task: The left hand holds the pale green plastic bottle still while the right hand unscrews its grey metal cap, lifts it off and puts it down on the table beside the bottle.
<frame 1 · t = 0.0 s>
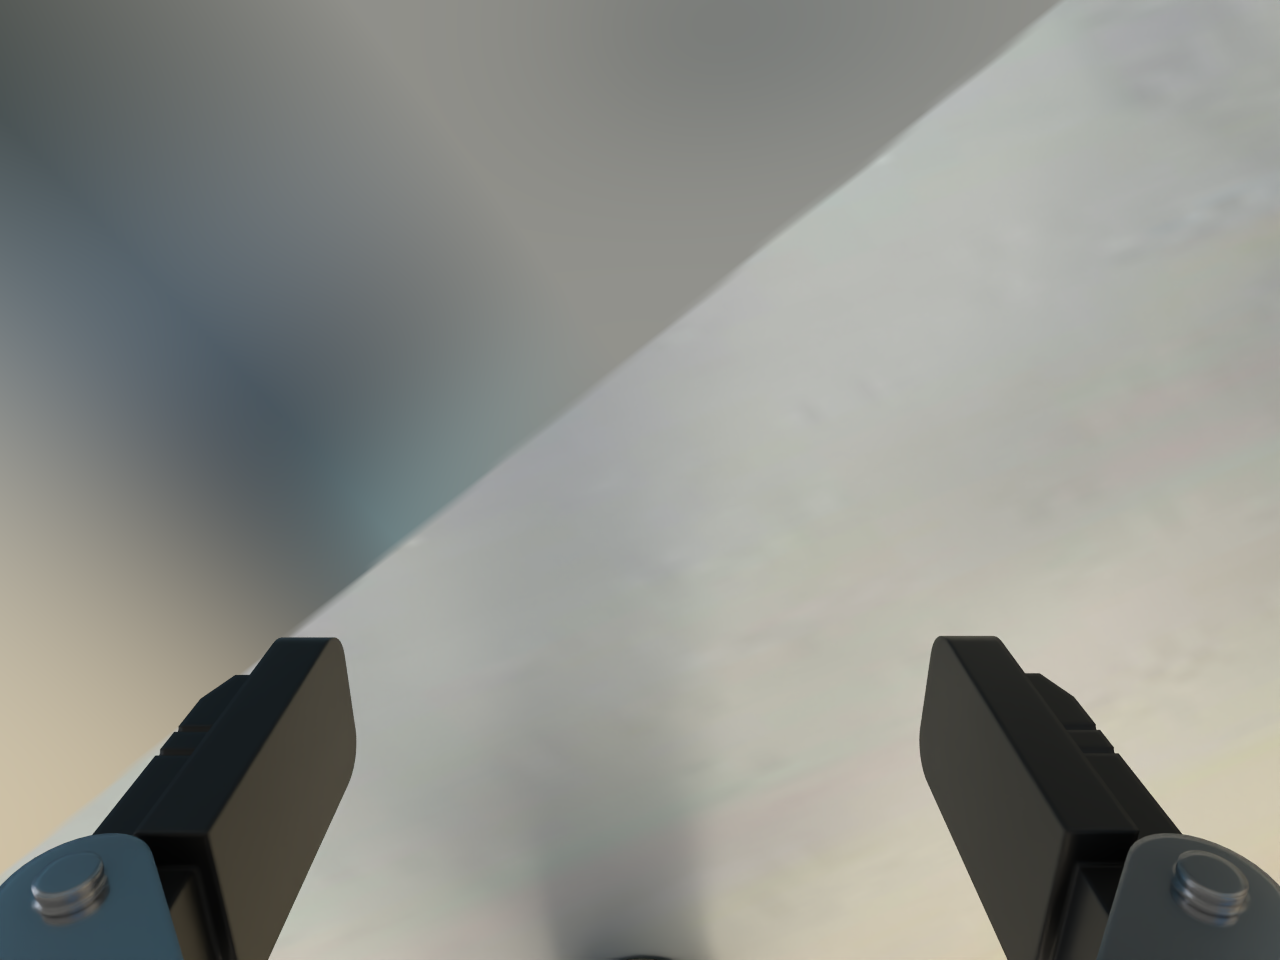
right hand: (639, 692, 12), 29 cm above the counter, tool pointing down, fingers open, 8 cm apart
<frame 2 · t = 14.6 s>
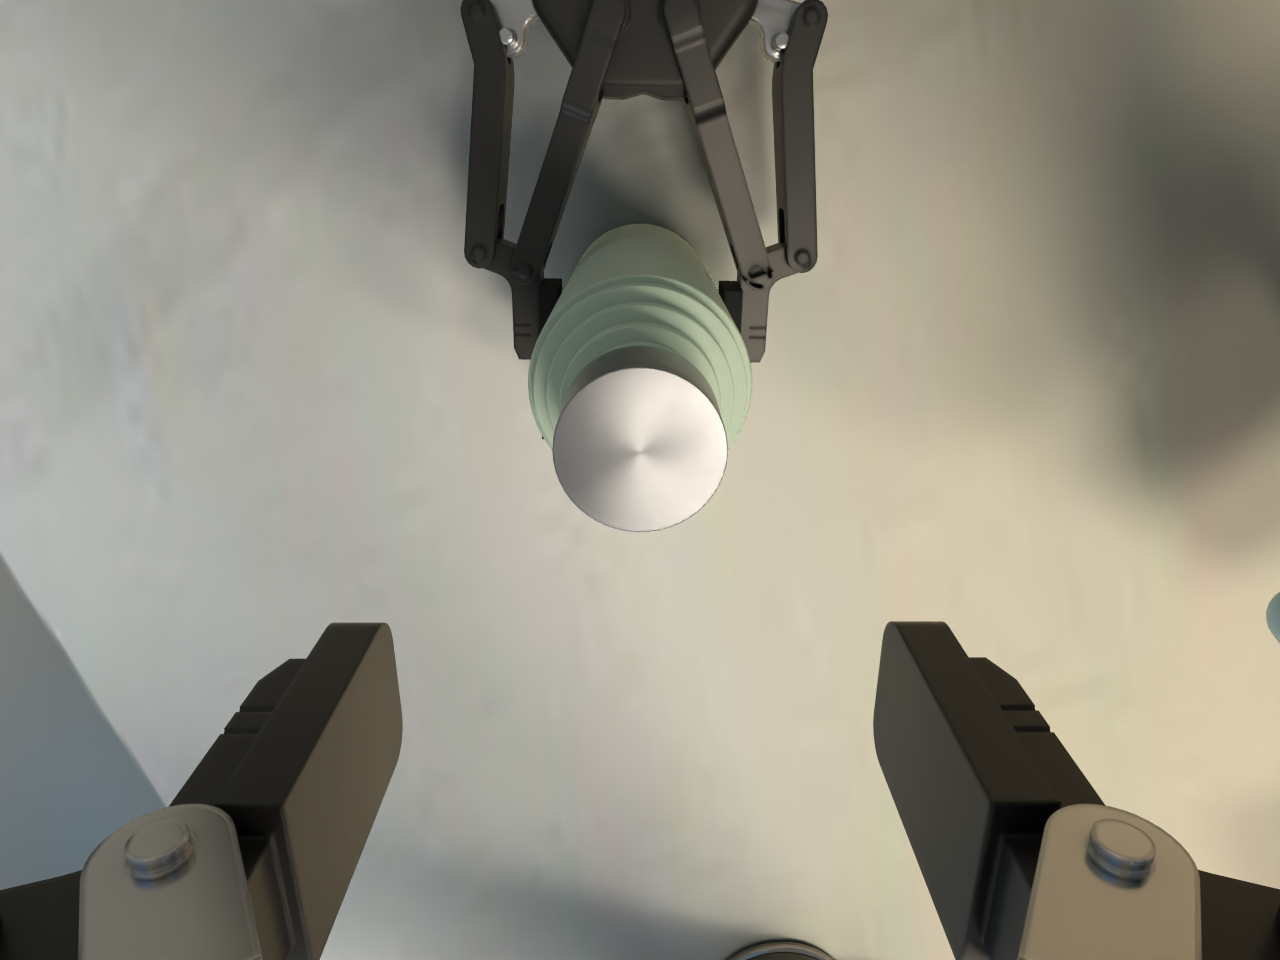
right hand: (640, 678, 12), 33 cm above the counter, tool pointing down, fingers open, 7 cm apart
left hand: (638, 430, 39), fingers closed on bottle, 7 cm apart
cap: (640, 448, 21), point 23 cm above the counter, screwed on, not yet turned
bottle: (640, 294, 43), on the counter, touching left hand
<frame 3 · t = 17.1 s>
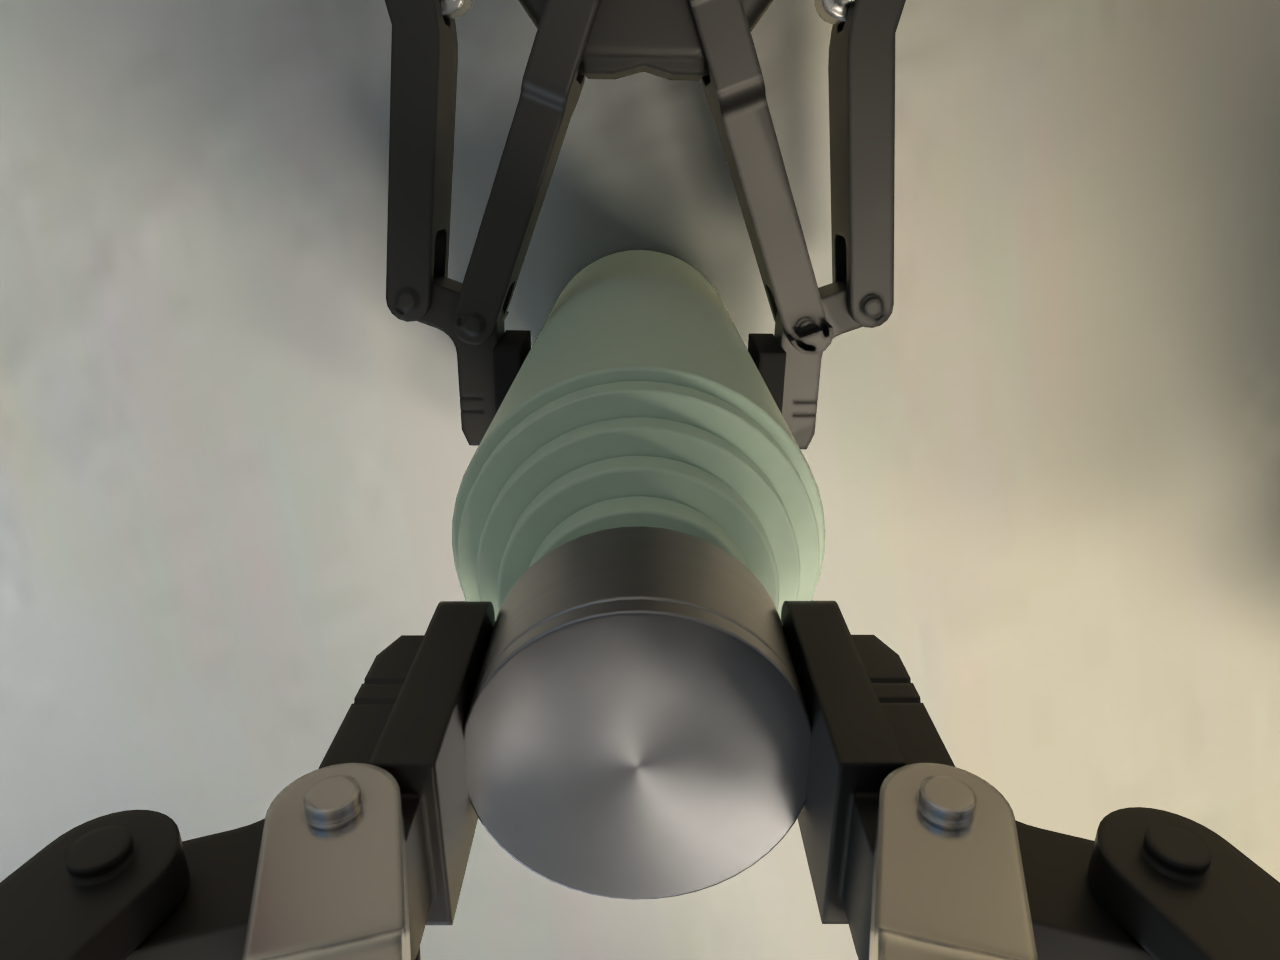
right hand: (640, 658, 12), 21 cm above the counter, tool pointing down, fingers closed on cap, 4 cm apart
cap: (638, 750, 11), point 23 cm above the counter, screwed on, not yet turned, touching right hand
bottle: (639, 343, 32), on the counter, touching left hand
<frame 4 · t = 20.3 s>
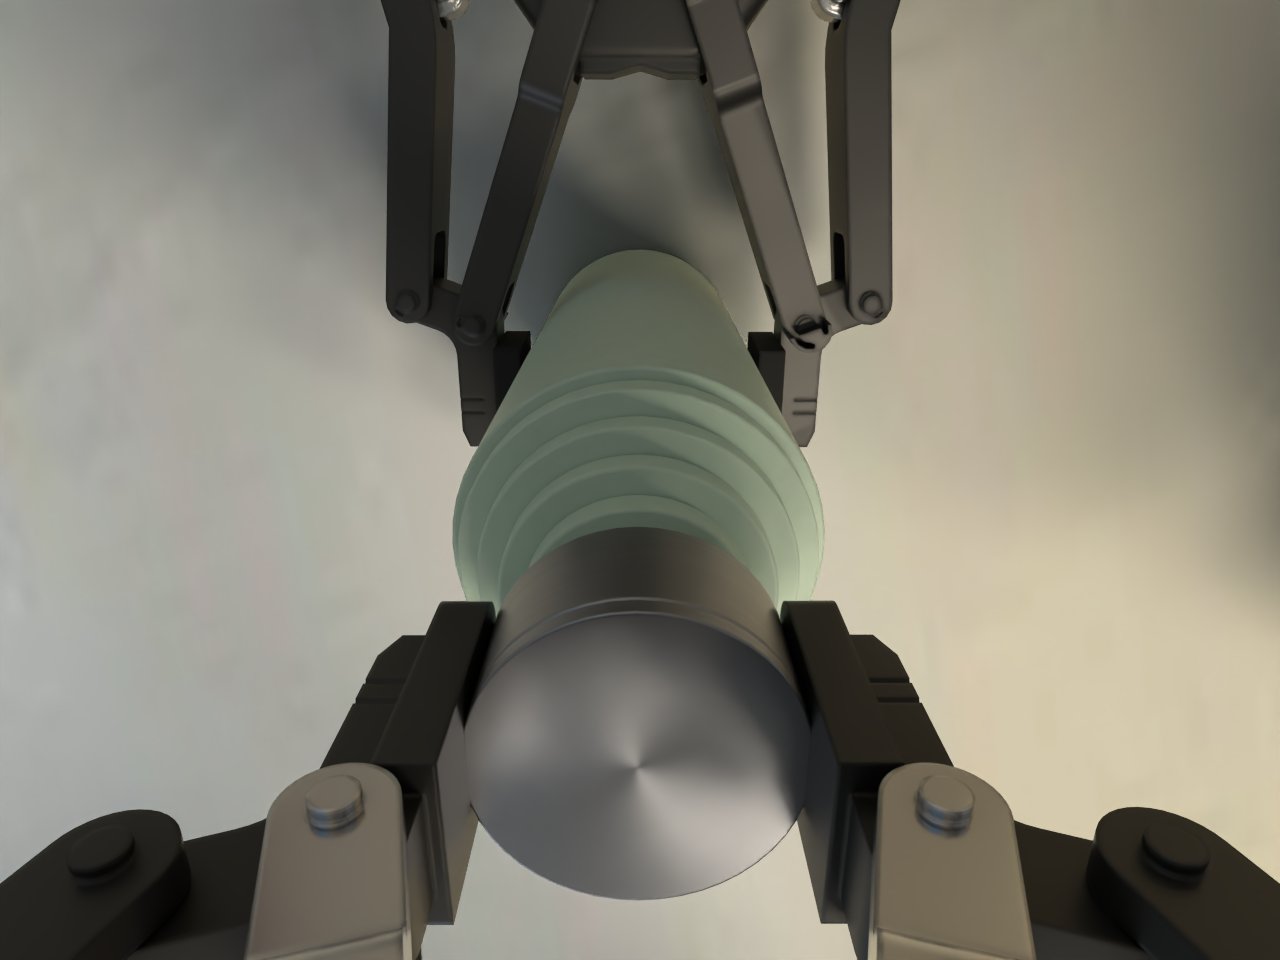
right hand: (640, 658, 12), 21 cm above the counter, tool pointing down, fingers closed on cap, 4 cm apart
cap: (637, 751, 11), point 23 cm above the counter, turned 69° so far, risen 0.1 cm, still on its thread, touching right hand
bottle: (639, 342, 32), on the counter, touching left hand
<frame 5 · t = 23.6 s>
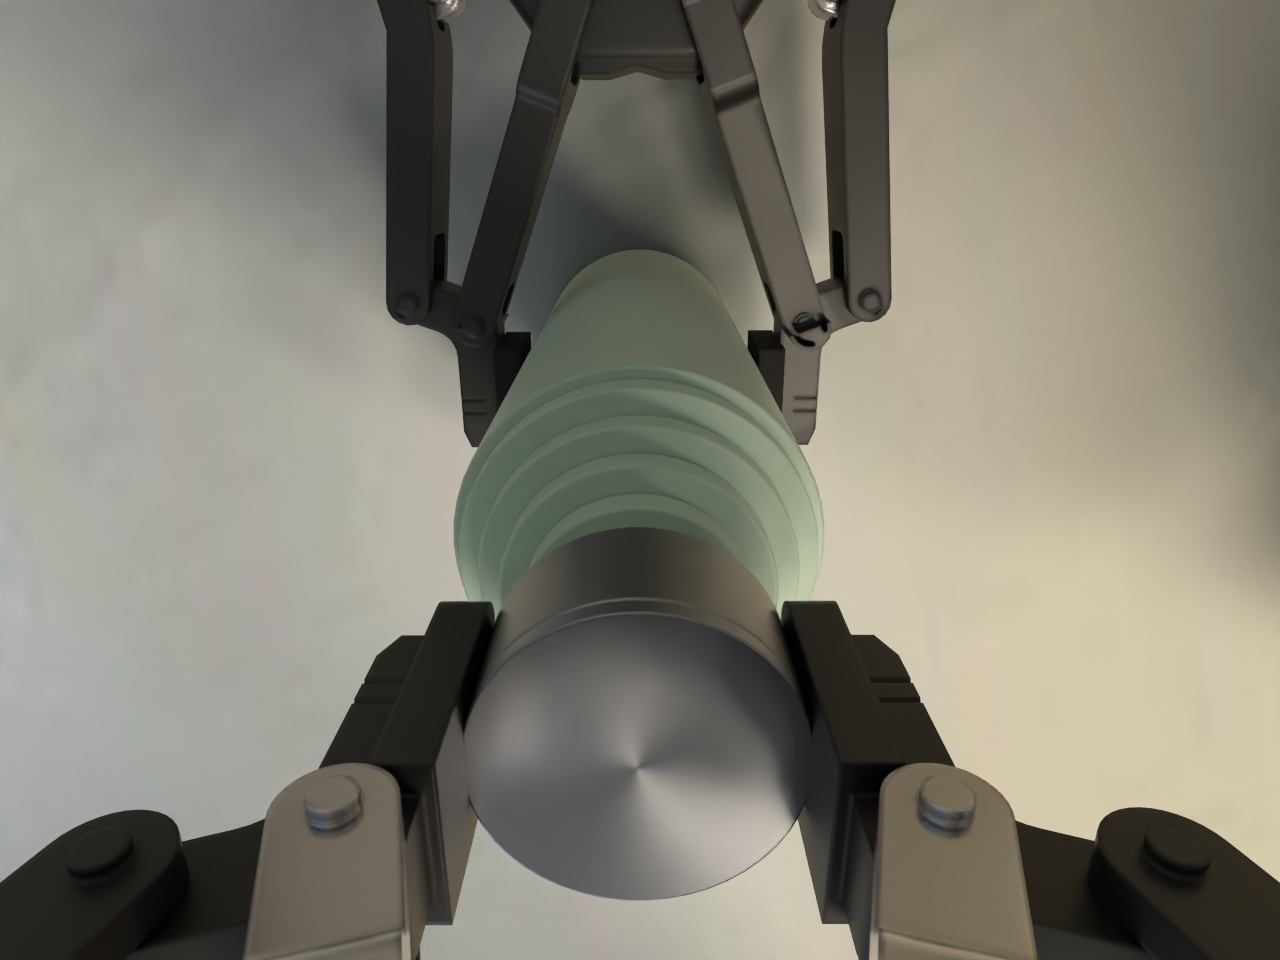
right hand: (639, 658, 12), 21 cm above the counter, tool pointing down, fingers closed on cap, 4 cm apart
cap: (637, 751, 11), point 24 cm above the counter, turned 138° so far, risen 0.1 cm, still on its thread, touching right hand
bottle: (639, 342, 32), on the counter, touching left hand
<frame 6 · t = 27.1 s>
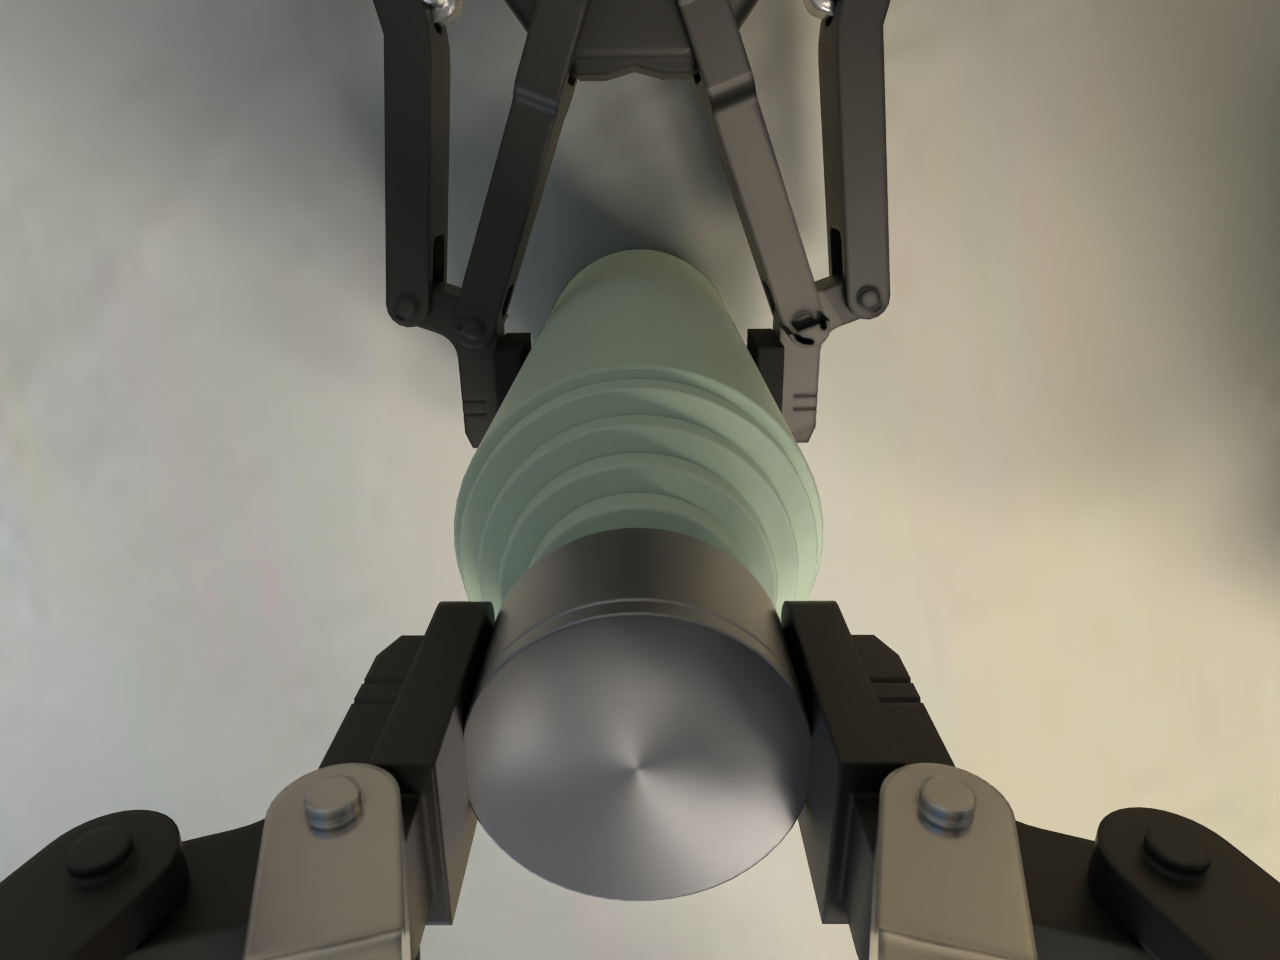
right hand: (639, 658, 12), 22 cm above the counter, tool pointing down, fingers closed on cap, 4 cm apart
cap: (637, 752, 11), point 24 cm above the counter, turned 207° so far, risen 0.2 cm, still on its thread, touching right hand
bottle: (639, 342, 33), on the counter, touching left hand
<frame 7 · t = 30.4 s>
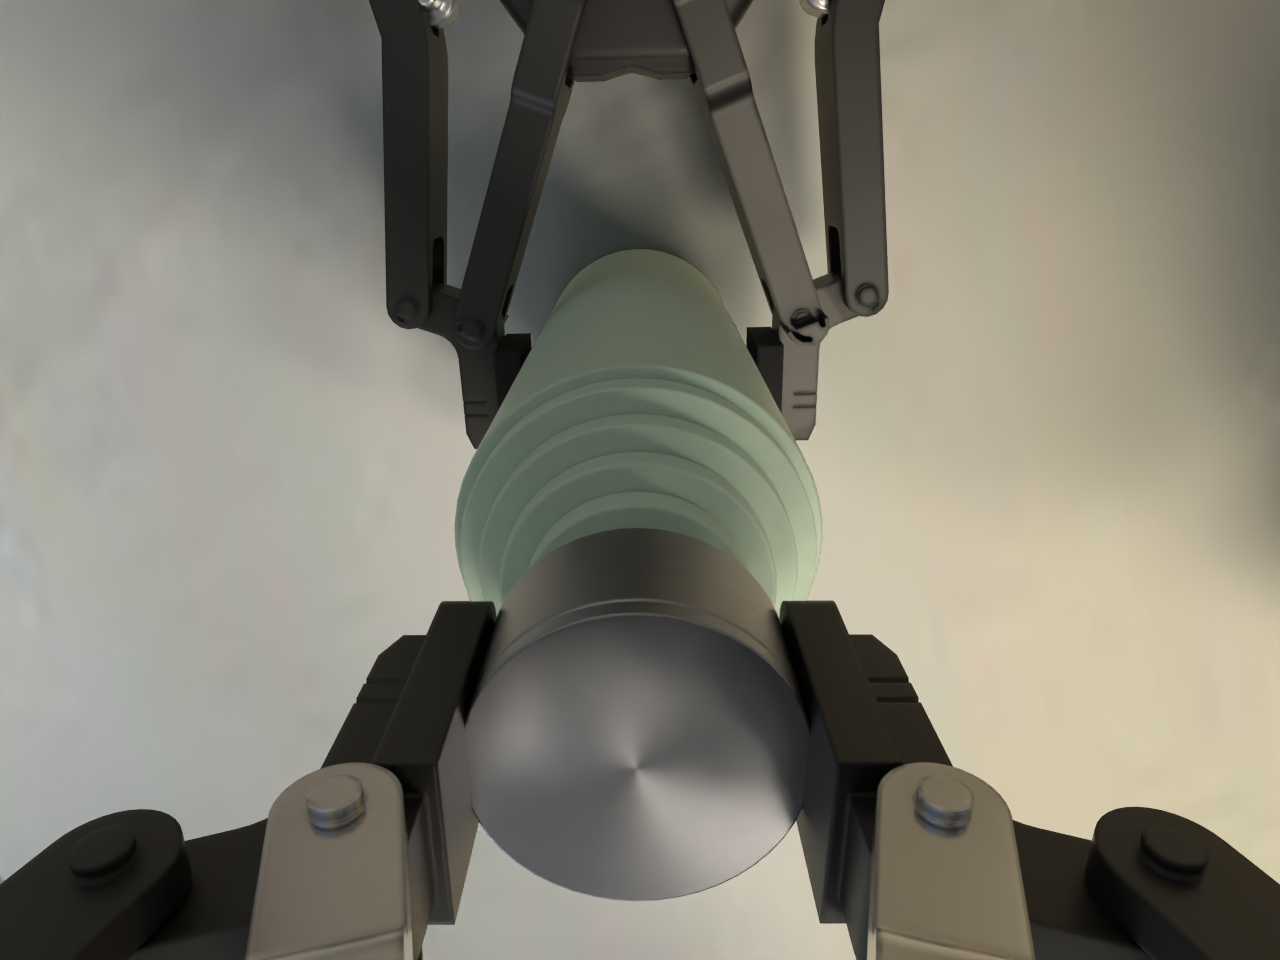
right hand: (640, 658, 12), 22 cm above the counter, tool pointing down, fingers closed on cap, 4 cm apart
cap: (636, 752, 11), point 24 cm above the counter, turned 276° so far, risen 0.2 cm, still on its thread, touching right hand
bottle: (640, 341, 33), on the counter, touching left hand
when the right hand's fingers open (1 cm above the counter, at t = 39.9 s): cap stays where it is, point 2 cm above the counter.
when the left hand's fingers open (7 cm above the counter, at t = 41.0 s): bottle stays where it is, on the counter.
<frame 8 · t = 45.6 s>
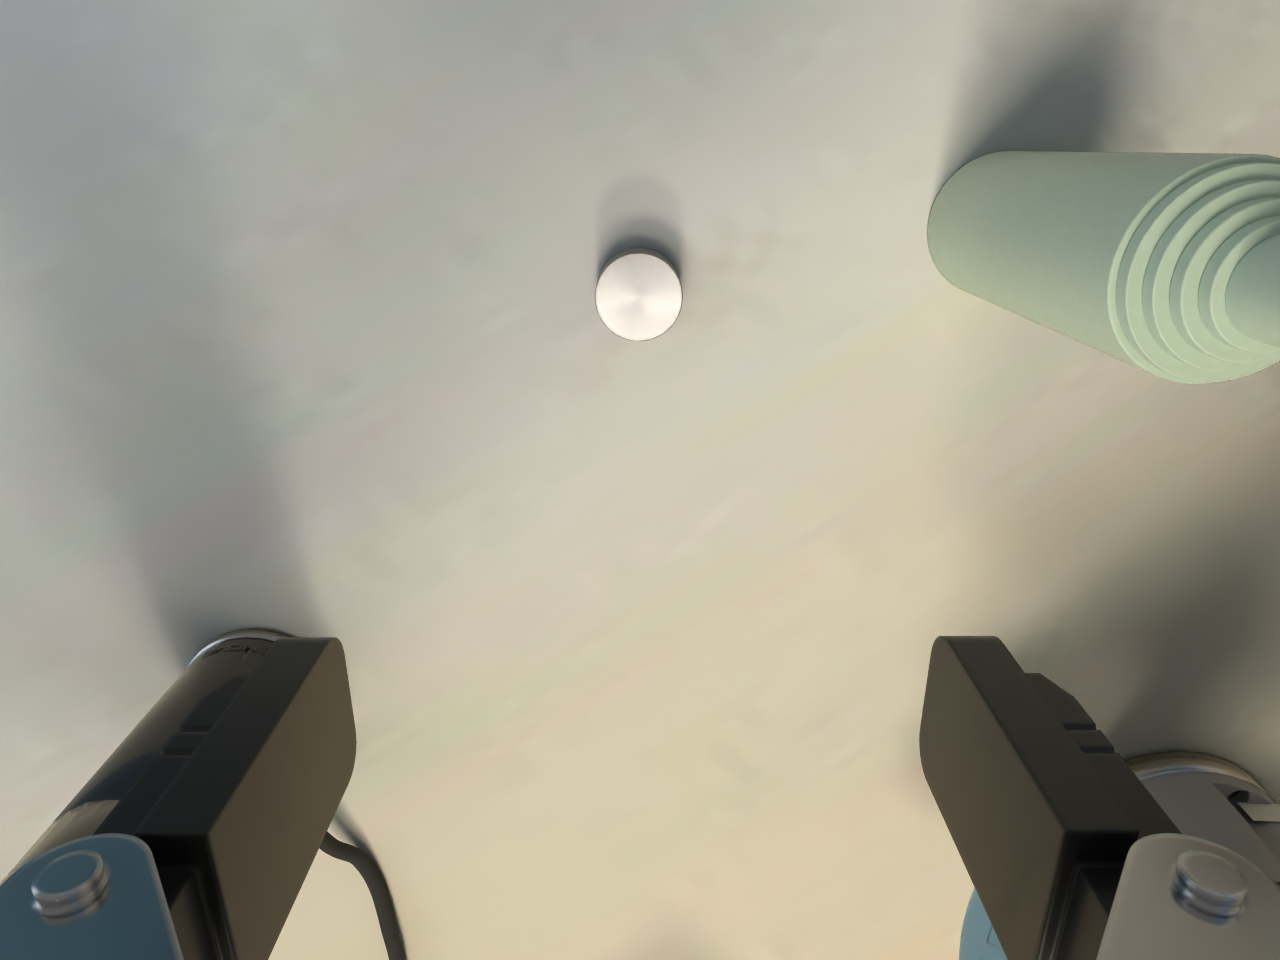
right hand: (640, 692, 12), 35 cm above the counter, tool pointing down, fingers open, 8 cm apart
cap: (638, 296, 42), point 2 cm above the counter, off its thread
bottle: (996, 225, 43), on the counter
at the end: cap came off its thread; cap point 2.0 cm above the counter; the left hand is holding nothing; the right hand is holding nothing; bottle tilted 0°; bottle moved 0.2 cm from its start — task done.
